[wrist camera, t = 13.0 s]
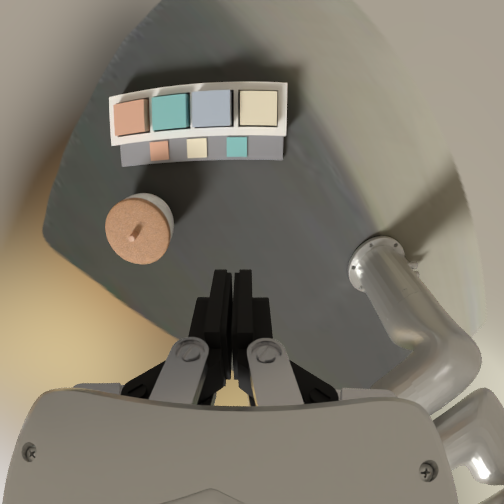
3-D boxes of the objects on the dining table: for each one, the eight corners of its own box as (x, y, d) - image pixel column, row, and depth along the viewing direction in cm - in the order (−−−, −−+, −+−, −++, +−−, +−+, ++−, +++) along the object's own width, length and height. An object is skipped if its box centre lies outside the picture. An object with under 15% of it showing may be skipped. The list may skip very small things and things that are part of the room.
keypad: (283, 85, 35) (287, 82, 31) (281, 159, 40) (285, 163, 37) (120, 97, 34) (109, 97, 31) (124, 165, 40) (114, 170, 36)
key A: (155, 100, 35) (143, 98, 30) (155, 129, 37) (144, 131, 32) (127, 104, 34) (113, 104, 30) (128, 132, 37) (115, 136, 32)
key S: (232, 93, 33) (230, 89, 29) (232, 124, 36) (230, 125, 31) (198, 94, 33) (191, 91, 29) (199, 125, 36) (192, 127, 31)
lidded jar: (138, 173, 41) (114, 189, 32) (191, 205, 44) (179, 228, 35) (116, 223, 45) (92, 248, 37) (164, 252, 48) (149, 282, 40)
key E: (273, 94, 35) (277, 91, 30) (273, 124, 37) (276, 125, 33) (241, 93, 35) (240, 90, 30) (241, 124, 37) (240, 125, 33)
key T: (192, 95, 35) (185, 93, 30) (193, 125, 37) (186, 127, 33) (162, 99, 35) (151, 97, 30) (163, 128, 37) (152, 130, 32)
